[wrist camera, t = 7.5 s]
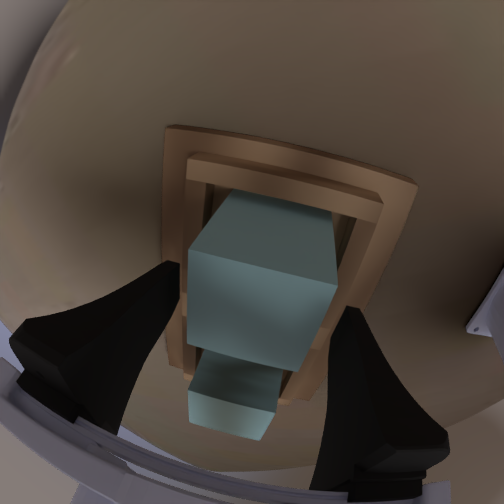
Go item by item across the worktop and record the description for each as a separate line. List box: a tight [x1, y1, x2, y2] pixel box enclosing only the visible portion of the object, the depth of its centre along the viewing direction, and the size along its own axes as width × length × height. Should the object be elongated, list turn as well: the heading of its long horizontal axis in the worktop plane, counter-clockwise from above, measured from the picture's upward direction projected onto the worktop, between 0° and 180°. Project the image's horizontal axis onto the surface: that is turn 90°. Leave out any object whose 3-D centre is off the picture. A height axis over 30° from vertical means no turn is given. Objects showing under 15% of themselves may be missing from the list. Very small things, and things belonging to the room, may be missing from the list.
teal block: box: [187, 189, 338, 372], centre depth 13 cm, size 5×5×6 cm
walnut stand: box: [162, 125, 419, 441], centre depth 16 cm, size 13×20×7 cm, turn 171°
